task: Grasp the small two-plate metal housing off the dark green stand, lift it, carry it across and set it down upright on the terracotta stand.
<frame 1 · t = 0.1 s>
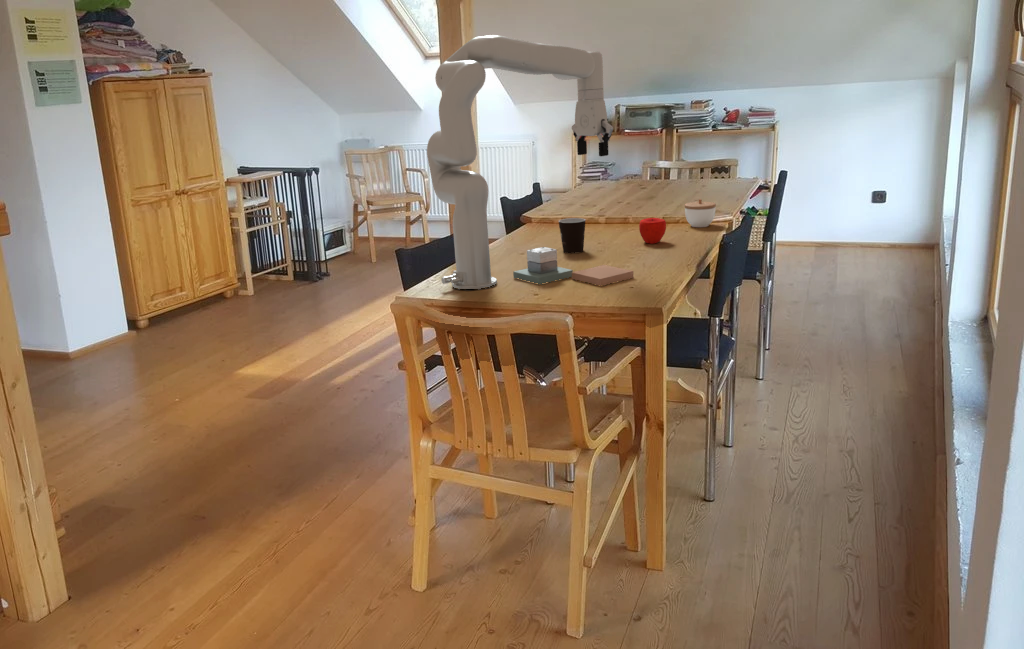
hand: (592, 155, 256), 31 cm above the table, tool pointing down, fingers open, 9 cm apart
lidded jar: (700, 226, 305), on the table
housing: (542, 270, 244), point 2 cm above the table, touching stand a
stand b: (602, 278, 239), on the table
apple: (652, 243, 282), on the table
coffee mug: (575, 250, 278), on the table
stand a: (543, 277, 244), on the table
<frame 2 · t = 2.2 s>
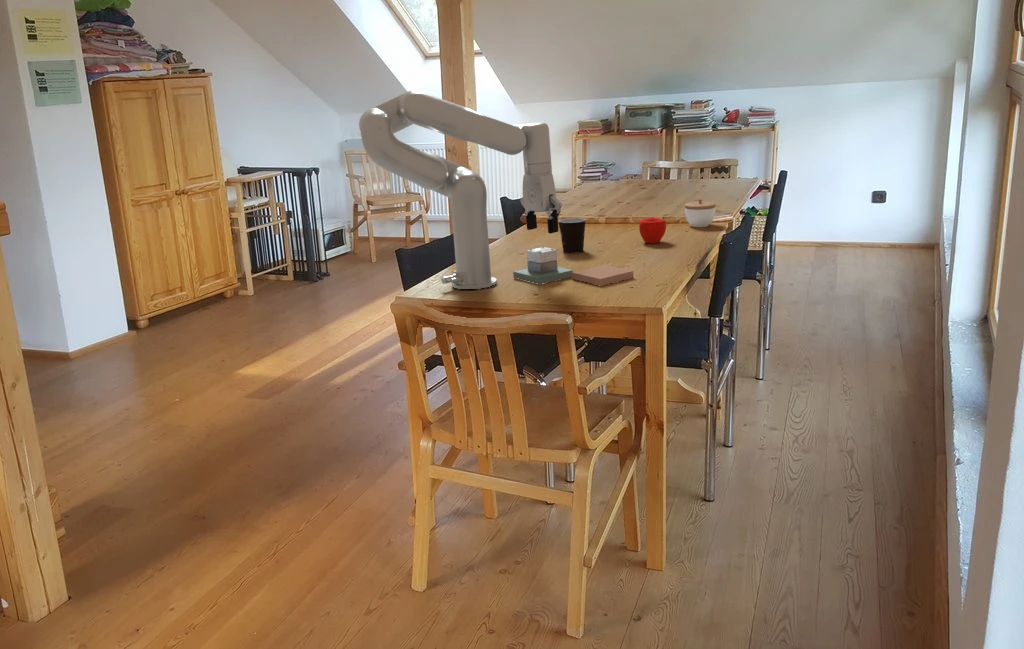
hand: (542, 230, 241), 13 cm above the table, tool pointing down, fingers open, 9 cm apart
nothing on the table moved.
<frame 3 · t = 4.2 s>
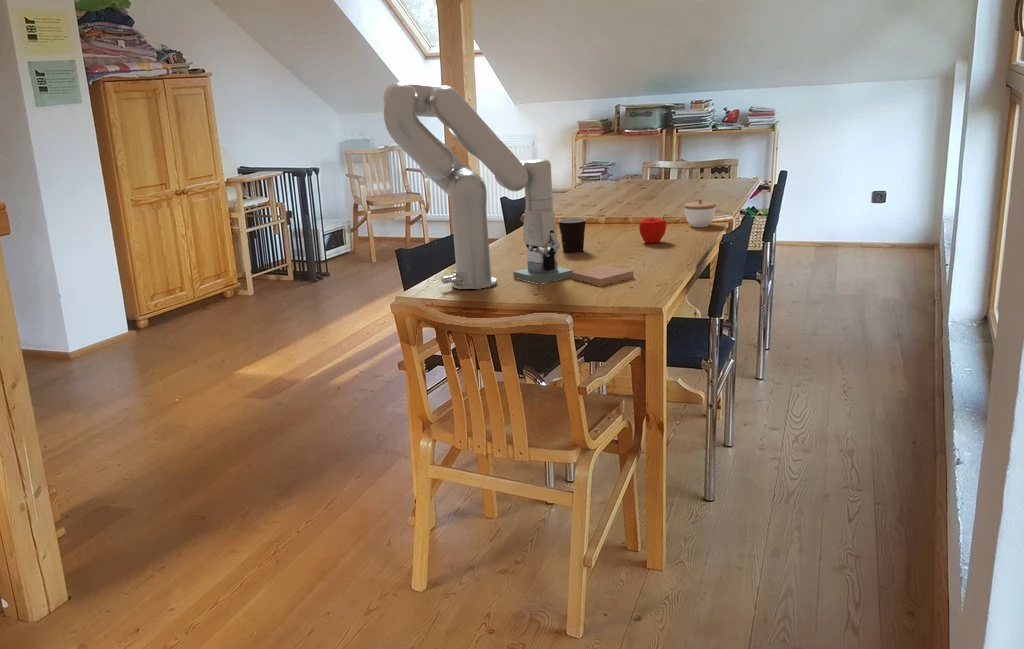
hand: (542, 267, 243), 3 cm above the table, tool pointing down, fingers closed on housing, 6 cm apart
housing: (542, 270, 244), point 2 cm above the table, touching gripper, stand a
everything else where it was.
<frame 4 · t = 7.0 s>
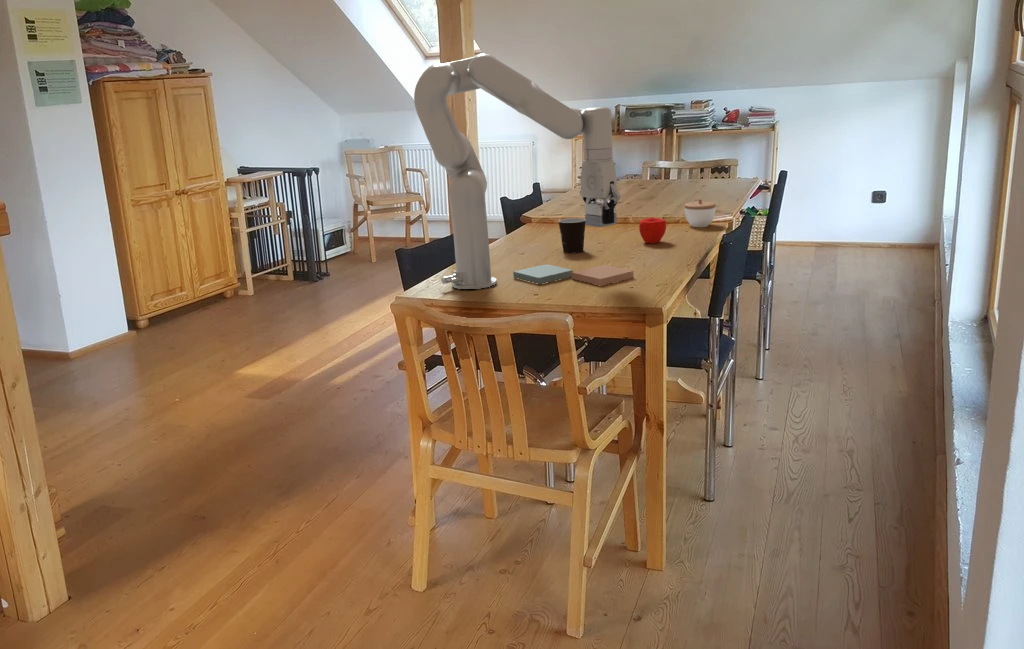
hand: (600, 221, 234), 16 cm above the table, tool pointing down, fingers closed on housing, 6 cm apart
housing: (601, 224, 234), point 15 cm above the table, touching gripper
everything else where it was.
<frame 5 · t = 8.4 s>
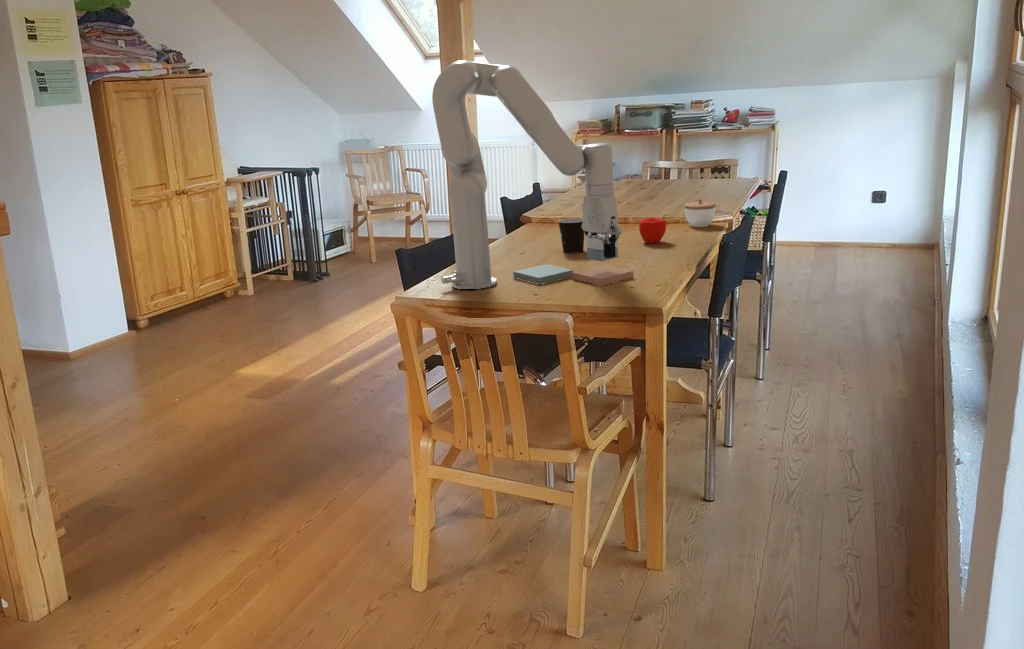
hand: (602, 255, 237), 7 cm above the table, tool pointing down, fingers closed on housing, 6 cm apart
housing: (602, 258, 237), point 6 cm above the table, touching gripper
everything else where it was.
when the fingers open (4 cm above the table, at t = 9.9 s): housing drops 1 cm, resting on stand b.
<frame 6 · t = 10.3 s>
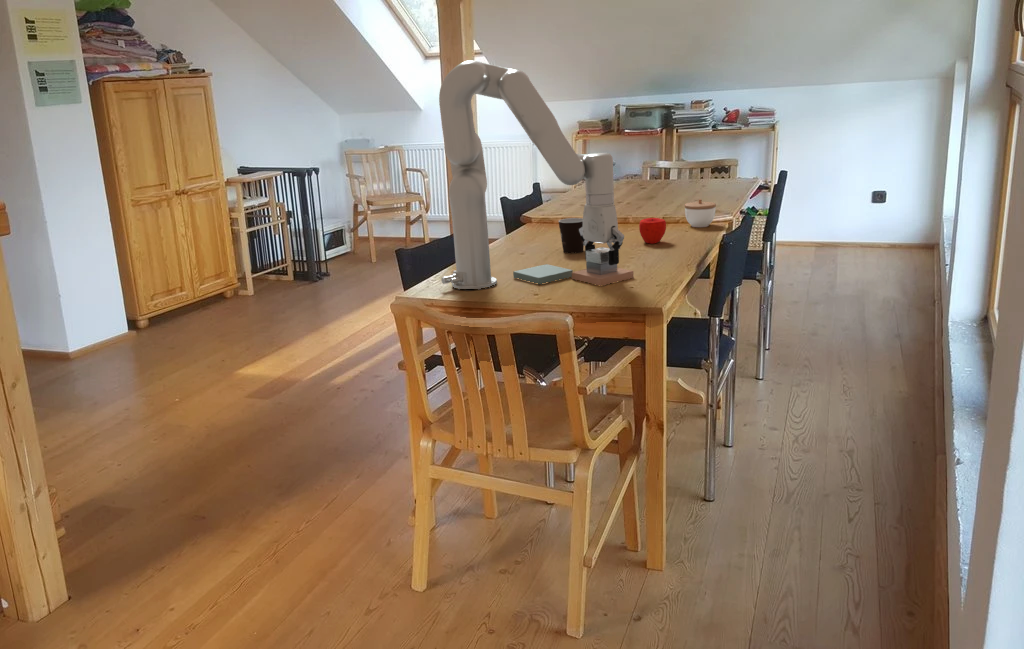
hand: (602, 261, 237), 5 cm above the table, tool pointing down, fingers open, 9 cm apart
housing: (601, 271, 238), point 2 cm above the table, touching stand b
everything else where it was.
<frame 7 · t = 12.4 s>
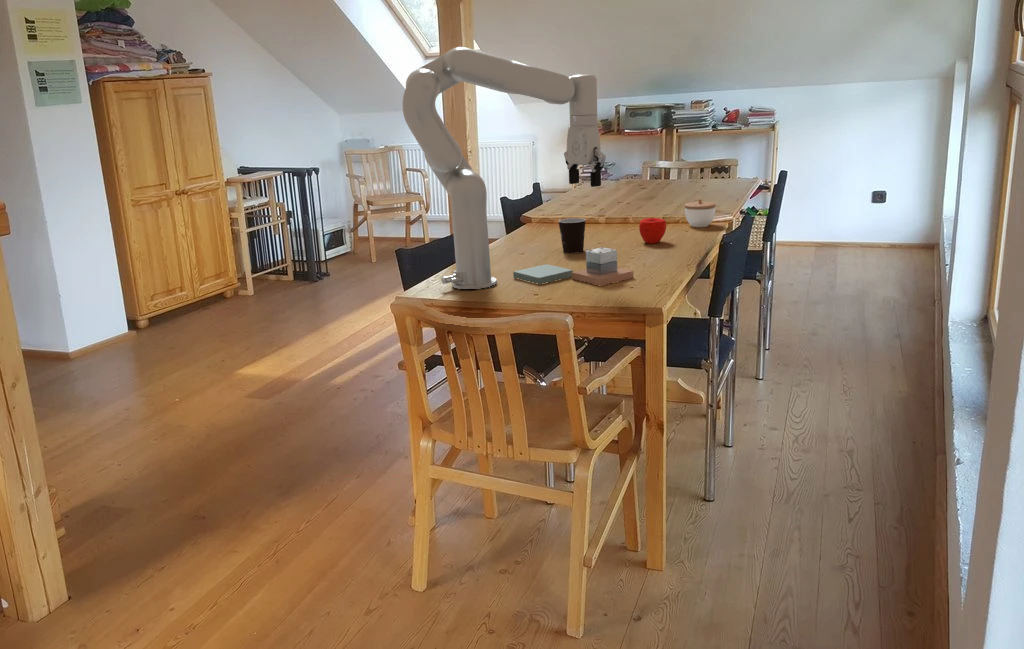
hand: (584, 184, 239), 25 cm above the table, tool pointing down, fingers open, 9 cm apart
nothing on the table moved.
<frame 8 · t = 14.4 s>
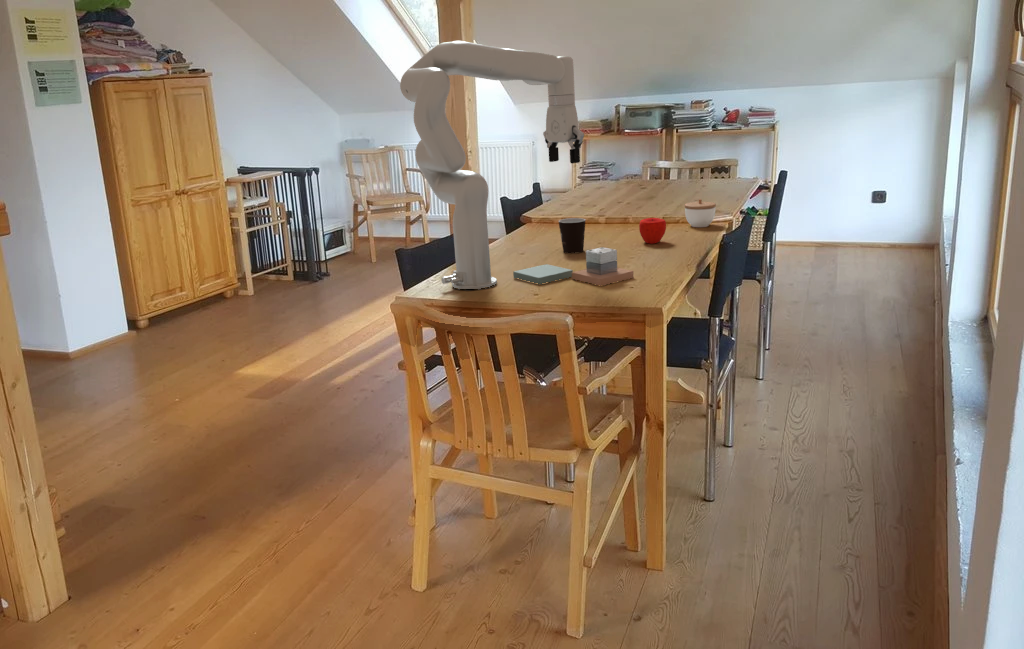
hand: (564, 162, 251), 30 cm above the table, tool pointing down, fingers open, 9 cm apart
nothing on the table moved.
at the end: housing inside the target area on the stand b (0.1 cm from its centre), point 2.0 cm above the stand b's base; housing tilted 0°; the gripper is holding nothing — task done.
